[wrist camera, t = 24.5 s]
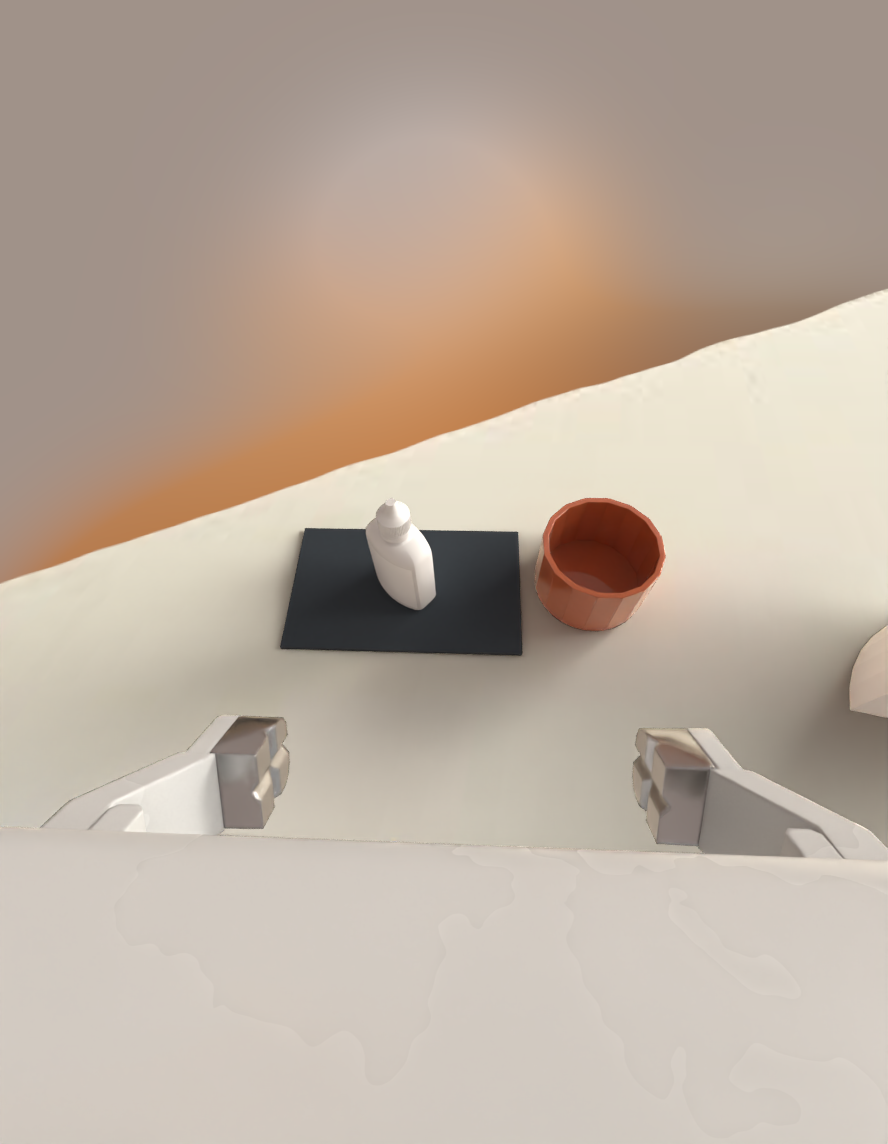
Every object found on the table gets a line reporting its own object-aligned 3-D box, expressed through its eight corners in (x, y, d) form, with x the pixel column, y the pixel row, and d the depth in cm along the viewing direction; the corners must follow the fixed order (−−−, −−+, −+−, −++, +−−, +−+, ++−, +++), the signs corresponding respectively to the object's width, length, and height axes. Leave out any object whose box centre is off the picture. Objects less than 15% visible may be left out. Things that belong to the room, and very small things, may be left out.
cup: (537, 629, 45) (546, 596, 39) (532, 537, 49) (540, 497, 44) (649, 632, 44) (674, 599, 39) (634, 539, 49) (654, 498, 44)
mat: (281, 648, 44) (279, 647, 44) (305, 530, 50) (305, 528, 50) (521, 655, 43) (522, 653, 43) (517, 534, 49) (518, 531, 49)
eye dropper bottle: (391, 621, 45) (369, 543, 35) (374, 567, 48) (350, 480, 37) (440, 606, 46) (433, 524, 35) (420, 553, 48) (409, 464, 38)
